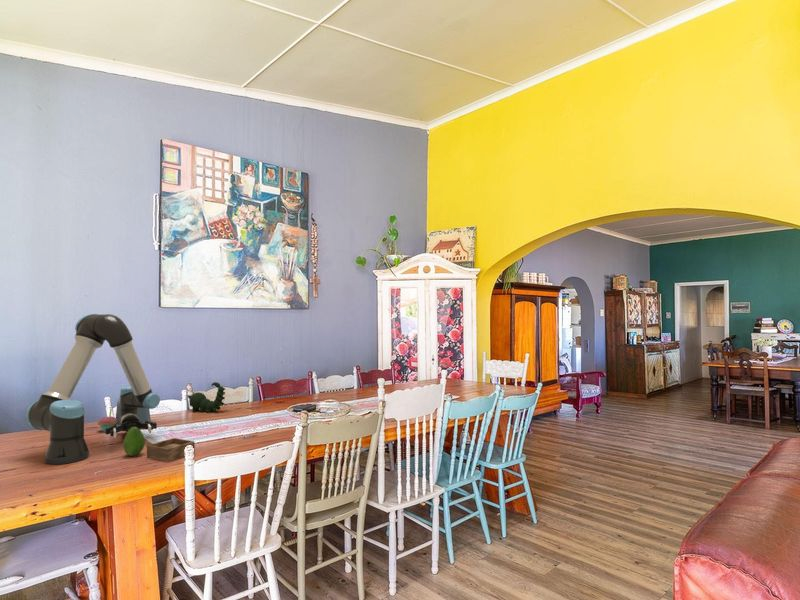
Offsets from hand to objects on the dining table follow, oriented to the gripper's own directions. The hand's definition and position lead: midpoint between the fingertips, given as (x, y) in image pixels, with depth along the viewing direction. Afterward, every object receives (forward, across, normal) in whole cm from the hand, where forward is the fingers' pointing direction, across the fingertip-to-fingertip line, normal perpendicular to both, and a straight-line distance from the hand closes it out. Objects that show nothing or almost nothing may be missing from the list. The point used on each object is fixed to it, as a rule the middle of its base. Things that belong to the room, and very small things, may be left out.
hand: (132, 432), depth 217 cm
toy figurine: (-68, -42, -8) cm, 80 cm away
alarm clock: (-54, -3, -8) cm, 55 cm away
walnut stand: (+18, -13, -8) cm, 24 cm away
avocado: (+10, 0, -8) cm, 13 cm away
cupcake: (-45, +9, -8) cm, 47 cm away
